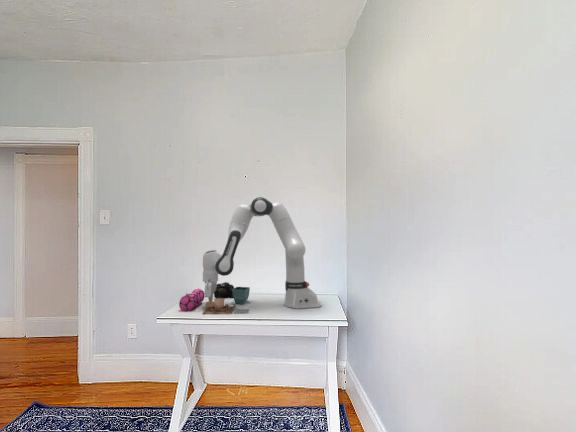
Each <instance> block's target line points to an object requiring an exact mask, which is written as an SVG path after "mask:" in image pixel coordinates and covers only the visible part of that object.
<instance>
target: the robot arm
mask: <svg viewBox="0 0 576 432" xmlns="http://www.w3.org/2000/svg"><path fill="white" fill-rule="evenodd" d="M264 216H268V217H269V219H270V220H271V222H272V224H273V226H274V228H275V231H276V233H277V235H278V237H279V239H280V242H281V243H282V245H283V247H284V249H285V251H284V252H285V282H284V284H285V285H284V286H285V297H284V302H283V306H284V307H287V308H293V309H295V310H296V309H309V308H312V309H313V308H320V307H321V306H322V303H321V301H320V300H318V296H317V294H316V293H315V292H314V291H313V290H312V289H311V288H309V286H310V283H309V282H307V281H305V260H304V256H305V253H306V246H305V244H304V242H303V240H302V238H301V236H300V234H299V232H298V229H297V228H296V227H295V224H294V222H293V219H292V218H291V216H290V213H289V212H288V210H287V208H286V206H285V205H284V204H283V203H282V202H280V201H276V202H271V201H269V200H268V199H267V198H265V197H262V196H259V197H256V198H254V199H253V200H252V201H251V203H250V204H245V203H240V204H238V205H237V207H236V209H235V210H234V213H233V214H232V217H231V220H230V222H229V227H228V236H227V242H226V245H225V248H224V249H223V252H222V253H221V252H219V251H217V250H216V249H215V250H208V251H206V252H205V253H203V255H202V256H203V257H202V268H203V269H202V270H203V271H202V282H203V283H204V298H207V299H208V302H214V301H213V297H214V292H215V291H216V287H217V284H218V282H219V275H220V276H228V275H231V273H232V272H233V270H234V266H235V262H234V257H235V255H236V251H237V249H238V246H239V244H240V242H241V240H242V239H243V238H244V236H245V235H246V233H247V231H248V229H249V226H250V224H251V222H252V221H251V220H253V218H254V217H264Z"/></svg>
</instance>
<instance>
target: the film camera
mask: <svg viewBox="0 0 576 432" xmlns="http://www.w3.org/2000/svg"><path fill="white" fill-rule="evenodd" d="M234 288H235V286H234V285H233V284H230V283H229V282H227V281H225V282H222V283H217V287H216V291H215V292H214V294H213V297H214V299H216V298H224V299H233V293H232V289H234Z"/></svg>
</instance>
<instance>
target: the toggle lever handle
mask: <svg viewBox="0 0 576 432" xmlns="http://www.w3.org/2000/svg"><path fill="white" fill-rule="evenodd" d="M224 305H225V298H214V301H212V302H209V301H205V307H206V308H207V307H214V309H224Z"/></svg>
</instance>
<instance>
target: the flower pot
mask: <svg viewBox="0 0 576 432" xmlns="http://www.w3.org/2000/svg"><path fill="white" fill-rule="evenodd" d="M250 289H251V288H250V287H248V286H236V287H235V286H234V289H232V293H233V298H232V299H233V301H234V302H235V304H240V305H242V304H245V303H246V302H247V301H248V300H249V297H250Z"/></svg>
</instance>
